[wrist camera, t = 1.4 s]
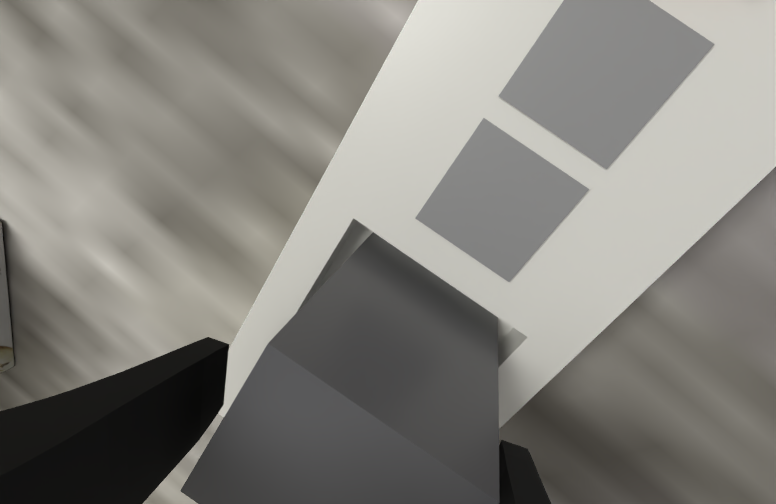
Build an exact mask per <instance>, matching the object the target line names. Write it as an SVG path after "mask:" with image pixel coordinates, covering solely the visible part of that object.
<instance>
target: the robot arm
mask: <svg viewBox="0 0 776 504" xmlns="http://www.w3.org/2000/svg"><path fill="white" fill-rule="evenodd" d="M228 350H229V344H226V343H224V342H221V341H218V340H215V339H212V338H209V337H207V338H205V339H202V340H199V341H197V342H194V343H192V344H189V345H187V346H184V347H182V348H179V349H177V350H175V351H172V352H170V353H167V354H165V355H163V356H160V357H158V358H155V359H153V360H150V361H148V362H145V363H143V364H140V365H138V366H135V367H133V368H130V369H128V370H125V371H123V372H120V373H117V374H115V375H112V376H109V377H106V378H104V379H101V380H98V381H95V382H93V383H90V384H87V385H84V386H82V387H79V388H76V389H73V390H70V391H67V392H64V393H61V394H58V395H55V396H52V397H49V398H45V399H42V400H39V401H35V402H32V403H28V404H25V405H22V406H18V407H15V408H11V409H8V410H4V411H0V504H142V503H143V502H144V501H145V500H146V499H147V498H148V497H149V495H150V494H151V493H152V492H153V491H154V490H155V489H156V488H157V487H158V485H159V484H160V483H161V482H162V481H163V480H164V479H165V478H166V477H167V475H168V474H169V473H170V472H171V471H172V470H173V469H174V468H175V467H176V465H177V464H178V463H179V462H180V461H181V460H182V459H183V457H184V456H185V455H186V454H187V453H188V452H189V451H190V450H191V448H192V447H193V446H194V445H195V444H196V443H197V442H198V440H199V439H200V438H201V436H202V435H203V434H204V432H205V431H206V429H207V428H208V427H209V425H210V424H211V423H212V421H213V420H214V418H215V417H216V415H217V414H218V412H219V411H220V409H221V408H222V406H223V405H224V394H225V383H226V372H227V361H228ZM499 502H500V503H499V504H551V502H550V500H549V498H548V495H547V493H546V491H545V489H544V486H543V484H542V481H541V479H540V477H539V474H538V472H537V470H536V467H535V465H534V462H533V460H532V458H531V455H530V453H529V451H528V449H526V448H523V447H520V446H518V445H515V444H512V443H509V442H506V441H503V440H501V442H500V445H499Z"/></svg>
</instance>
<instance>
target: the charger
mask: <svg viewBox="0 0 776 504" xmlns="http://www.w3.org/2000/svg"><path fill="white" fill-rule="evenodd" d="M181 492H182V493H184V494H185V495H187V496H188V497H190V498H191V499H193V500H194V501H195V502H197V503H198V504H499V503H500V502H499V381H498V317H497V316H495V315H494V314H492V313H491V312H489V311H488V310H486V309H485V308H483V307H482V306H480V305H479V304H478V303H476V302H475V301H473V300H472V299H470V298H469V297H467V296H466V295H464V294H463V293H461V292H460V291H458V290H457V289H456V288H454V287H453V286H451V285H450V284H448V283H447V282H445V281H444V280H442V279H441V278H439V277H438V276H437V275H435V274H434V273H432V272H431V271H429V270H428V269H426V268H425V267H423V266H422V265H420V264H419V263H418V262H416V261H415V260H413V259H412V258H410V257H409V256H407V255H406V254H404V253H403V252H401V251H400V250H398V249H397V248H396V247H394V246H393V245H391V244H390V243H388V242H387V241H385V240H384V239H382V238H381V237H379V236H378V235H377V234H375V233H374V232H373V233H372V234H371V235H370V236H369V237H368V238H367V239H366V240H365V241H364V242H363V243H362V244H361V245H360V246H359V247H358V248H357V249H356V251H355V252H354V253H353V254H352V255H351V256H350V257H349V258H348V259H347V260H346V261H345V262H344V263H343V264H342V265H341V266H340V268H339V269H338V270H337V271H336V272H335V273H334V274H333V275H332V276H331V277H330V278H329V279H328V280H327V281H326V282H325V283H324V284H323V286H322V287H321V288H320V289H319V290H318V291H317V292H316V293H315V294H314V295H313V296H312V297H311V298H310V299H309V300H308V301H307V302H306V304H305V305H304V306H303V307H302V308H301V309H300V310H299V311H298V312H297V313H296V314H295V315H294V316H293V317H292V318H291V319H290V320H289V322H288V323H287V324H286V325H285V326H284V327H283V328H282V329H281V330H280V331H279V332H278V333H277V334H276V335H275V336H274V337H273V339H272V340H271V341H270V342H269V343H268V344H267V346H266V347H265V349H264V351H263V353H262V354H261V356H260V358H259V359H258V361H257V363H256V364H255V366H254V368H253V369H252V371H251V373H250V374H249V376H248V378H247V380H246V381H245V383H244V385H243V386H242V388H241V390H240V391H239V393H238V395H237V396H236V398H235V400H234V401H233V403H232V405H231V406H230V408H229V410H228V412H227V413H226V415H225V417H224V418H223V420H222V422H221V423H220V425H219V427H218V428H217V430H216V432H215V433H214V435H213V437H212V439H211V440H210V442H209V444H208V445H207V447H206V449H205V450H204V452H203V454H202V455H201V457H200V459H199V460H198V462H197V464H196V465H195V467H194V469H193V471H192V472H191V474H190V476H189V477H188V479H187V481H186V482H185V484H184V486H183V487H182V489H181Z"/></svg>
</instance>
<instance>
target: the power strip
mask: <svg viewBox="0 0 776 504" xmlns="http://www.w3.org/2000/svg"><path fill="white" fill-rule="evenodd" d="M775 167H776V0H418V2H417V3H416V5H415V7H414V9H413V11H412V13H411V15H410V16H409V18H408V20H407V22H406V24H405V26H404V27H403V29H402V31H401V33H400V35H399V37H398V39H397V40H396V42H395V44H394V46H393V48H392V50H391V51H390V53H389V55H388V57H387V59H386V61H385V62H384V64H383V66H382V68H381V70H380V72H379V74H378V75H377V77H376V79H375V81H374V83H373V85H372V86H371V88H370V90H369V92H368V94H367V96H366V98H365V99H364V101H363V103H362V105H361V107H360V109H359V110H358V112H357V114H356V116H355V118H354V120H353V122H352V123H351V125H350V127H349V129H348V131H347V133H346V134H345V136H344V138H343V140H342V142H341V144H340V146H339V147H338V149H337V151H336V153H335V155H334V157H333V158H332V160H331V162H330V164H329V166H328V168H327V169H326V171H325V173H324V175H323V177H322V179H321V181H320V182H319V184H318V186H317V188H316V190H315V192H314V193H313V195H312V197H311V199H310V201H309V203H308V205H307V206H306V208H305V210H304V212H303V214H302V216H301V217H300V219H299V221H298V223H297V225H296V227H295V229H294V230H293V232H292V234H291V236H290V238H289V240H288V241H287V243H286V245H285V247H284V249H283V251H282V253H281V254H280V256H279V258H278V260H277V262H276V264H275V265H274V267H273V269H272V271H271V273H270V275H269V276H268V278H267V280H266V282H265V284H264V286H263V288H262V289H261V291H260V293H259V295H258V297H257V299H256V300H255V302H254V304H253V306H252V308H251V310H250V312H249V313H248V315H247V317H246V319H245V321H244V323H243V324H242V326H241V328H240V330H239V332H238V334H237V336H236V337H235V339H234V341H233V343H232V345H231V347H230V348H229V350H228V361H227V372H226V383H225V394H224V405H223V406H222V408H221V409H220V411H219V412H218V414H219V415H221V416H222V417H225V415H226V413H227V412H228V410H229V408H230V406H231V405H232V403H233V401H234V400H235V398H236V396H237V395H238V393H239V391H240V390H241V388H242V386H243V385H244V383H245V381H246V380H247V378H248V376H249V374H250V373H251V371H252V369H253V368H254V366H255V364H256V363H257V361H258V359H259V358H260V356H261V354H262V353H263V351H264V349H265V347H266V346H267V344H268V343H269V342H270V341H271V340H272V339H273V337H274V336H275V335H276V334H277V333H278V332H279V331H280V330H281V329H282V328H283V327H284V326H285V325H286V324H287V323H288V322H289V320H290V319H291V318H292V317H293V316H294V315H295V314H296V313H297V312H298V311H299V310H300V309H301V308H302V307H303V306H304V305H305V304H306V302H307V301H308V300H309V299H310V298H311V297H312V296H313V295H314V294H315V293H316V292H317V291H318V290H319V289H320V288H321V287H322V286H323V284H324V283H325V282H326V281H327V280H328V279H329V278H330V277H331V276H332V275H333V274H334V273H335V272H336V271H337V270H338V269H339V268H340V266H341V265H342V264H343V263H344V262H345V261H346V260H347V259H348V258H349V257H350V256H351V255H352V254H353V253H354V252H355V251H356V249H357V248H358V247H359V246H360V245H361V244H362V243H363V242H364V241H365V240H366V239H367V238H368V237H369V236H370V235H371V234H372V233H373V232H374V233H375V234H377V235H378V236H379V237H381V238H382V239H384V240H385V241H387V242H388V243H390V244H391V245H393V246H394V247H396V248H397V249H398V250H400V251H401V252H403V253H404V254H406V255H407V256H409V257H410V258H412V259H413V260H415V261H416V262H418V263H419V264H420V265H422V266H423V267H425V268H426V269H428V270H429V271H431V272H432V273H434V274H435V275H437V276H438V277H439V278H441V279H442V280H444V281H445V282H447V283H448V284H450V285H451V286H453V287H454V288H456V289H457V290H458V291H460V292H461V293H463V294H464V295H466V296H467V297H469V298H470V299H472V300H473V301H475V302H476V303H478V304H479V305H480V306H482V307H483V308H485V309H486V310H488V311H489V312H491V313H492V314H494V315H495V316H497V317H498V381H499V429H500V428H501V427H502V426H503V425H504V424H505V423H506V422H507V421H508V420H509V419H510V418H511V417H512V416H513V415H514V414H515V413H516V412H518V411H519V410H520V409H521V408H522V407H523V406H524V405H525V404H526V403H527V402H528V401H529V400H530V399H531V398H532V397H533V396H534V395H535V394H536V393H538V392H539V391H540V390H541V389H542V388H543V387H544V386H545V385H546V384H547V383H548V382H549V381H550V380H551V379H552V378H553V377H554V376H555V375H557V374H558V373H559V372H560V371H561V370H562V369H563V368H564V367H565V366H566V365H567V364H568V363H569V362H570V361H571V360H572V359H573V358H574V357H575V356H577V355H578V354H579V353H580V352H581V351H582V350H583V349H584V348H585V347H586V346H587V345H588V344H589V343H590V342H591V341H592V340H593V339H594V338H596V337H597V336H598V335H599V334H600V333H601V332H602V331H603V330H604V329H605V328H606V327H607V326H608V325H609V324H610V323H611V322H612V321H613V320H614V319H616V318H617V317H618V316H619V315H620V314H621V313H622V312H623V311H624V310H625V309H626V308H627V307H628V306H629V305H630V304H631V303H632V302H633V301H634V300H636V299H637V298H638V297H639V296H640V295H641V294H642V293H643V292H644V291H645V290H646V289H647V288H648V287H649V286H650V285H651V284H652V283H653V282H655V281H656V280H657V279H658V278H659V277H660V276H661V275H662V274H663V273H664V272H665V271H666V270H667V269H668V268H669V267H670V266H671V265H672V264H673V263H675V262H676V261H677V260H678V259H679V258H680V257H681V256H682V255H683V254H684V253H685V252H686V251H687V250H688V249H689V248H690V247H691V246H692V245H693V244H695V243H696V242H697V241H698V240H699V239H700V238H701V237H702V236H703V235H704V234H705V233H706V232H707V231H708V230H709V229H710V228H711V227H712V226H714V225H715V224H716V223H717V222H718V221H719V220H720V219H721V218H722V217H723V216H724V215H725V214H726V213H727V212H728V211H729V210H730V209H731V208H732V207H734V206H735V205H736V204H737V203H738V202H739V201H740V200H741V199H742V198H743V197H744V196H745V195H746V194H747V193H748V192H749V191H750V190H751V189H752V188H754V187H755V186H756V185H757V184H758V183H759V182H760V181H761V180H762V179H763V178H764V177H765V176H766V175H767V174H768V173H769V172H770V171H771V170H773V169H774V168H775Z"/></svg>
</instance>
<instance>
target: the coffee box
mask: <svg viewBox="0 0 776 504" xmlns="http://www.w3.org/2000/svg"><path fill="white" fill-rule="evenodd" d="M13 366H14V354H13V344H12V332H11V321H10V310H9V298H8V287H7V276H6V265H5V255H4V244H3V232H2V223H1V222H0V373H2V372H4V371H6V370H8V369H10V368H12V367H13Z"/></svg>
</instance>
